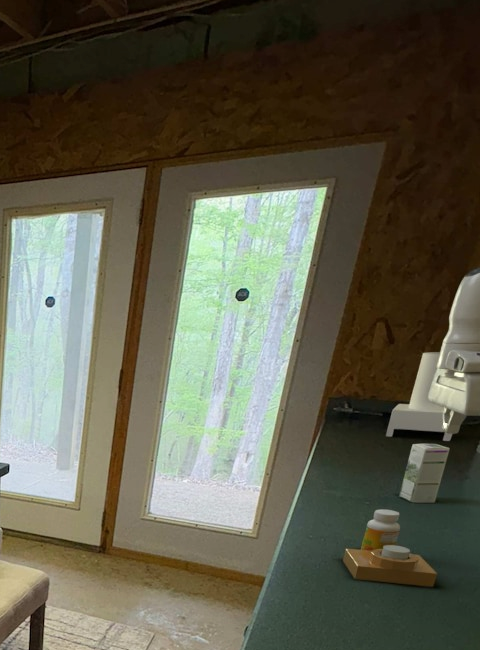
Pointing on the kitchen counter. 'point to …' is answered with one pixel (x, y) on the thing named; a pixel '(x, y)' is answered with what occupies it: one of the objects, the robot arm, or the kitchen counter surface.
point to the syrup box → (424, 473)
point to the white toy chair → (420, 403)
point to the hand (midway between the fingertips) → (449, 432)
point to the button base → (389, 568)
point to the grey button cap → (395, 552)
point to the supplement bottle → (381, 530)
